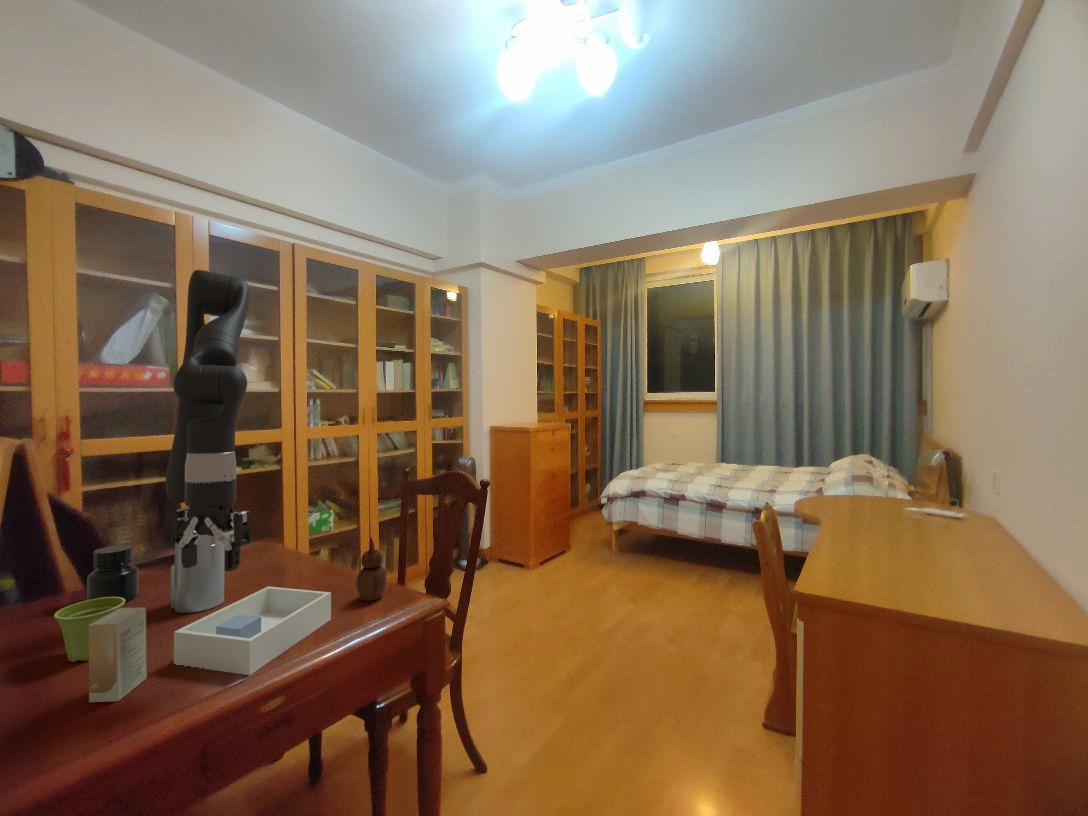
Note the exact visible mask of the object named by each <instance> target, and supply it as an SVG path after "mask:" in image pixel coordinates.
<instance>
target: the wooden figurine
mask: <svg viewBox="0 0 1088 816" xmlns="http://www.w3.org/2000/svg"><path fill="white" fill-rule="evenodd" d="M368 549H369V550H367V551H364V552H363V554H362V555H361V560H360V561H361V563H360V564H361V566H362V567H363V568H362V569H360V572H359V573H358V575H357V578H356V590H357V593H358V595H359V597H360V599H361V600H362V601H366V602H373V601H376V600H378V599H380V597H382V596H383V594H384V591H385V588H386V584H387V573H386V569H385V568H384V566H383V565H381V564H382V563H383V553H382V552H381V551H380V550H377V549H375V543H374V540H373V537H370V538H369V547H368Z"/></svg>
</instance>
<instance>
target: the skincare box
mask: <svg viewBox="0 0 1088 816" xmlns="http://www.w3.org/2000/svg"><path fill="white" fill-rule="evenodd" d="M145 680H147V607H122V608H119V609H117V610H115V611H113V612H111V613H109V614H108V615H106V616H104V617H102V618H100V619H99V620H97V621H95V622H93V623H92V624H90V625H89V660H88V702H89V703H99V702H100V703H103V702H104V703H107V702H108V703H110V702H119V701H120V700H121V699H123V698H124V697H125V696H126V695H128V694H130V692H132V691H133V690H134V689H135V688H137V687H138V686H139V685H141V683H143V682H144V681H145Z"/></svg>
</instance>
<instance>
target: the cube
mask: <svg viewBox="0 0 1088 816" xmlns="http://www.w3.org/2000/svg"><path fill="white" fill-rule="evenodd" d="M260 632H261V617H258V616H248V615H237V616H235V617H233V618H231V619H229V620H227V621H225V622H223V623H221V624H219V625H217V626H216V634H218V635H226V636H235V637H243V638H251V637H253V636H255V635H256V634H258V633H260Z"/></svg>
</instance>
